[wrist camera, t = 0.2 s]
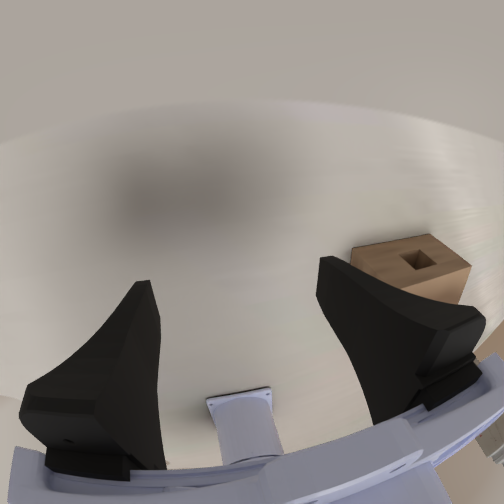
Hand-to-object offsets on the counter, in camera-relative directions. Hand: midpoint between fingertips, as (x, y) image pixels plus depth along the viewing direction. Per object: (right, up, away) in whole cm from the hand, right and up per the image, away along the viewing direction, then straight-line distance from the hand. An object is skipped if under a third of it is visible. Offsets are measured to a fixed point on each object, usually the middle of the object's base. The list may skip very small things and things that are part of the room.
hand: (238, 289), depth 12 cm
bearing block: (+15, 0, +15) cm, 21 cm away
